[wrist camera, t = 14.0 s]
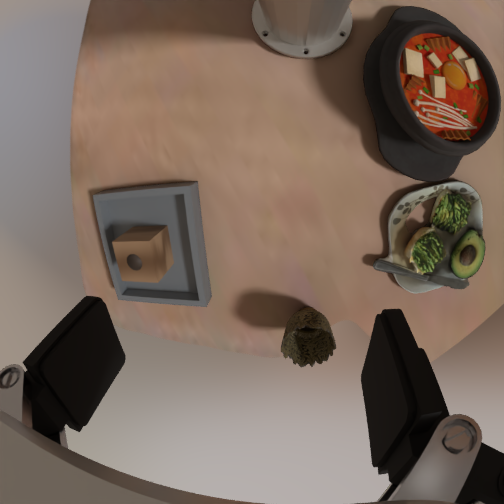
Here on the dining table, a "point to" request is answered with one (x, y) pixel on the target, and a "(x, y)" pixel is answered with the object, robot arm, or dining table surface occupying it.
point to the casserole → (429, 94)
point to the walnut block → (144, 253)
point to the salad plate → (436, 239)
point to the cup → (308, 338)
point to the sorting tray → (180, 232)
